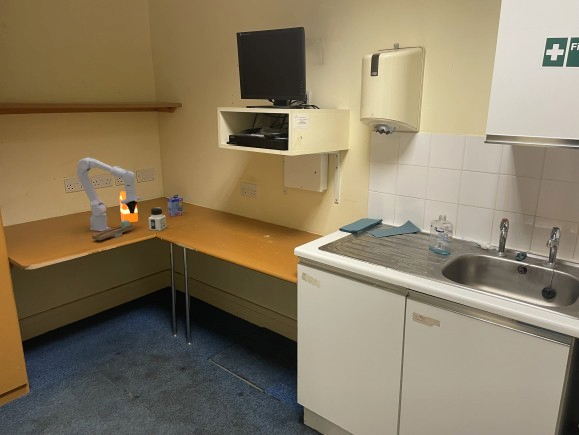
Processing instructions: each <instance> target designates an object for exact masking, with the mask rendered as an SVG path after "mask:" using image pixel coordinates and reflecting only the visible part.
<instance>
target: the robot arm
mask: <svg viewBox="0 0 579 435" xmlns="http://www.w3.org/2000/svg"><path fill="white" fill-rule="evenodd" d="M76 168H77V170H76V175H77V177H78V179H79V182H80V184H81V185H82V187H83V190H84V192H85V194H86V196H87V197H88V200H89V201H90V208H91V214H92V215H90V219H89V222H90V223H89V224H90V228H89V230H90V231H95V232H104V231H107V230H110V229H112V228H111V226H110V227H109V226H108V217H107V213H106V212H107V210H108V207H107V205H106V204H105V203H104V202H103V200H102V199H101V198H100V197H99V195H98V193H97V190H96V189H95V187H94V185H93V183H92V181H91V178H90V177H89V173H90V170H91V169H95V168H98V169H101V170H103V171H106V172H109V173H110V174H111V175H112V176H113V177H116V178H118V179H121V180H123V182H124V191H125V194H126V199H124V200H122V201H121V204H126V205H127V207H128V209H129V211H130V214H134V211H135V207H136V204H137V205H138V201H141V199H142V197H141V196H140V195H139V196H136V195H137V194H136V186H135V185H136V184H135V179H136V178H135V177H136V174H135V173H134V171H132V170H128V169H124V168H121V166H119V165H117V166H116V165H115V166H111V165H109V164H107V163H104V162H102V161H101V160H98V159H96V158H92V157H89V156H87V157H85V158H81V159H80V160H78V162H77V164H76Z"/></svg>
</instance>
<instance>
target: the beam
mask: <svg viewBox="0 0 579 435" xmlns="http://www.w3.org/2000/svg"><path fill="white" fill-rule="evenodd" d="M133 229H135V228H134V225H133V224H130V226H128V227H125V228H121V225H119V226H117V227H114V228H110V229H107V230H104V231H100V232H99V233H95V234H92V235H91V239H92V240H96V241H97V240H98V241H102V240H105V239H108V238H114V239H117V238H119V237H122V236H123V233H125V232H128V231H131V230H133Z"/></svg>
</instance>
